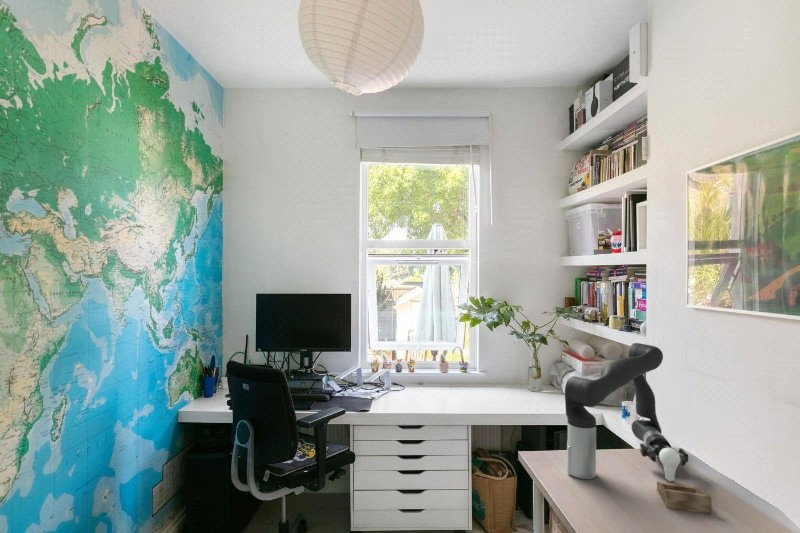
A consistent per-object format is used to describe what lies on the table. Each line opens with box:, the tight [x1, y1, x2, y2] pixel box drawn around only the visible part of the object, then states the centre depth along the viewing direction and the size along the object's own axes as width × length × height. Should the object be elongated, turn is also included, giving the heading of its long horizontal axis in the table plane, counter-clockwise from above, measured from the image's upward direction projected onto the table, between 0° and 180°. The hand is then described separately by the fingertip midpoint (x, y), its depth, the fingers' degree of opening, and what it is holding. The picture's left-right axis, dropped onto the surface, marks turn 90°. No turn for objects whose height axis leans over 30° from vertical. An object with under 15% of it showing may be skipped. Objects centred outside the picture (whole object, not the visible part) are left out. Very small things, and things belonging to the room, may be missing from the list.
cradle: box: [656, 481, 712, 515], centre depth 133 cm, size 11×11×5 cm
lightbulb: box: [658, 447, 680, 482], centre depth 147 cm, size 6×6×11 cm
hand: (669, 461), depth 147 cm, fingers open, 8 cm apart
